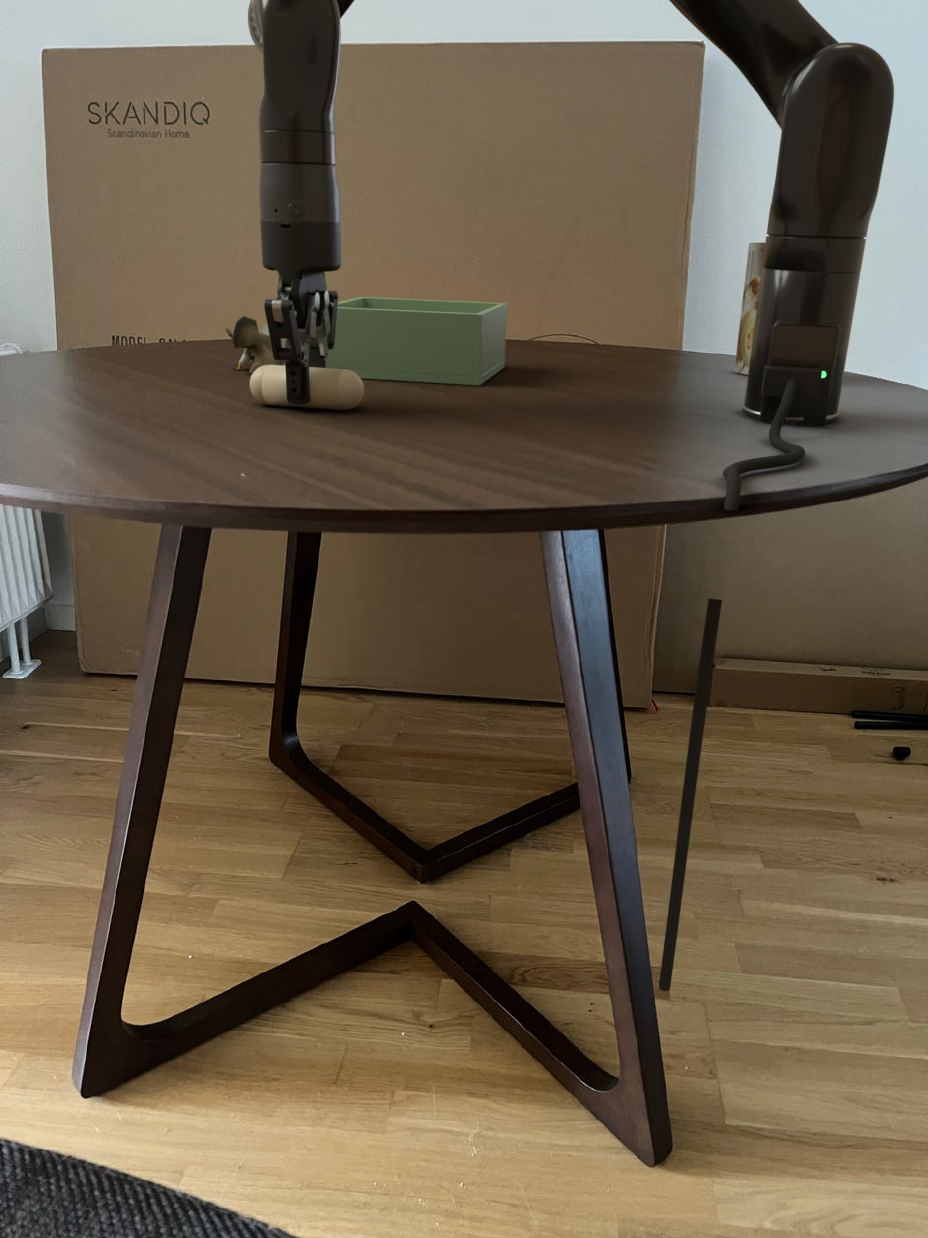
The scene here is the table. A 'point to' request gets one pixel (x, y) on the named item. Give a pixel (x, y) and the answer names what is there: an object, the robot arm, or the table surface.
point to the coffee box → (749, 306)
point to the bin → (420, 340)
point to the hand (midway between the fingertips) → (307, 398)
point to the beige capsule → (325, 387)
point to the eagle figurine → (253, 343)
